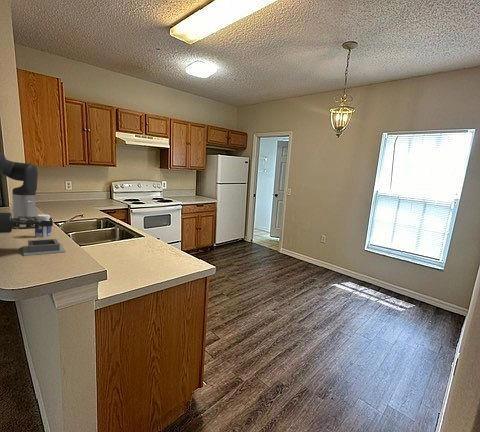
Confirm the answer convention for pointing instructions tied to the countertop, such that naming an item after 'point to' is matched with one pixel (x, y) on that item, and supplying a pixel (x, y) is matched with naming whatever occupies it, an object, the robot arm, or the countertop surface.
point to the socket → (42, 247)
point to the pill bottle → (43, 231)
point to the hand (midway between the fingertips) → (51, 222)
